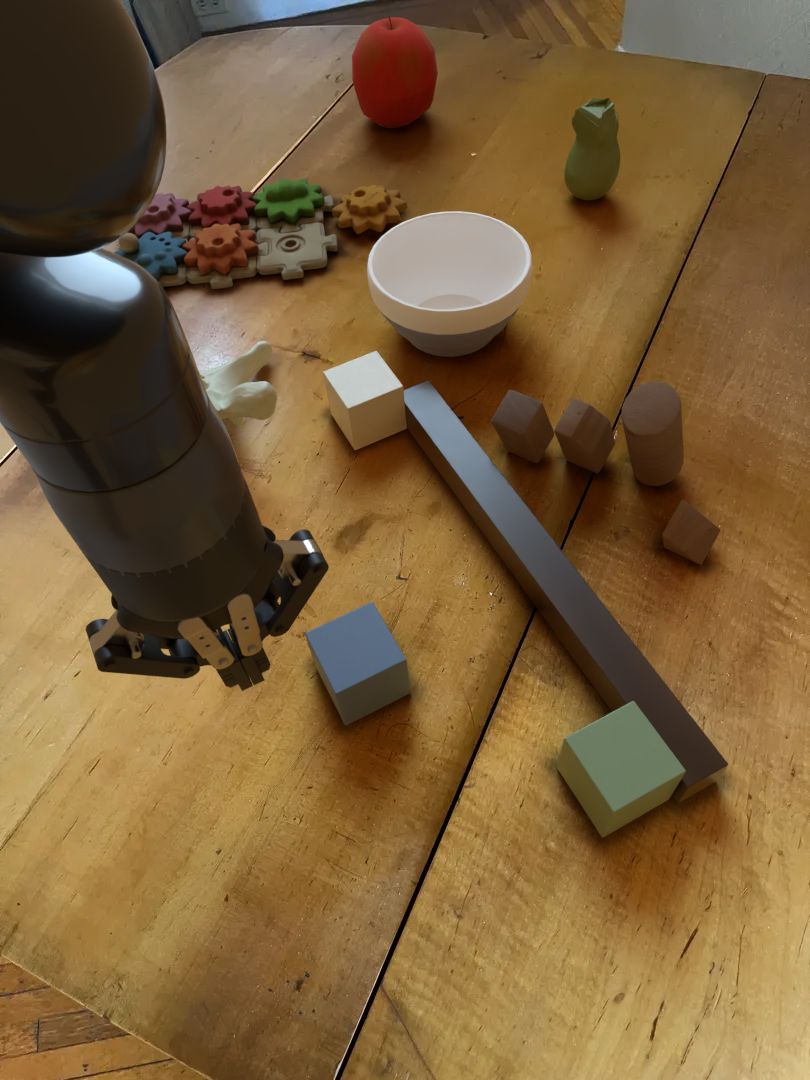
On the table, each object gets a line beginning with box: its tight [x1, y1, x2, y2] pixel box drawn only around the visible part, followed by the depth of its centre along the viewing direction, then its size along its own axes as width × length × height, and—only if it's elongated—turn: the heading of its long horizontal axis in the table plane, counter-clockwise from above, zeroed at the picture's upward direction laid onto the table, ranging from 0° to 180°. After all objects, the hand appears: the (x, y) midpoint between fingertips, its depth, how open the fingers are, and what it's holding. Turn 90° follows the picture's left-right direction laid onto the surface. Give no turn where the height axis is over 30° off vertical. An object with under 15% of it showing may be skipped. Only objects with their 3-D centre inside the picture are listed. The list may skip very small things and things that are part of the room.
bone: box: [199, 340, 278, 429], centre depth 69 cm, size 13×15×8 cm
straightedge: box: [404, 379, 729, 804], centre depth 60 cm, size 3×38×3 cm, turn 27°
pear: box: [563, 96, 621, 201], centre depth 84 cm, size 6×5×10 cm
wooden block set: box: [490, 380, 721, 566], centre depth 61 cm, size 18×9×10 cm, turn 53°
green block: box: [556, 701, 686, 838], centre depth 49 cm, size 5×5×5 cm
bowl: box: [366, 210, 533, 358], centre depth 74 cm, size 14×14×8 cm
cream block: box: [322, 350, 408, 451], centre depth 69 cm, size 5×5×5 cm
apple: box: [351, 15, 439, 129], centre depth 95 cm, size 10×10×12 cm
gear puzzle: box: [113, 178, 408, 290], centre depth 86 cm, size 31×16×4 cm, turn 96°
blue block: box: [304, 601, 412, 726], centre depth 55 cm, size 5×5×5 cm
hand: (248, 673), depth 49 cm, fingers closed
